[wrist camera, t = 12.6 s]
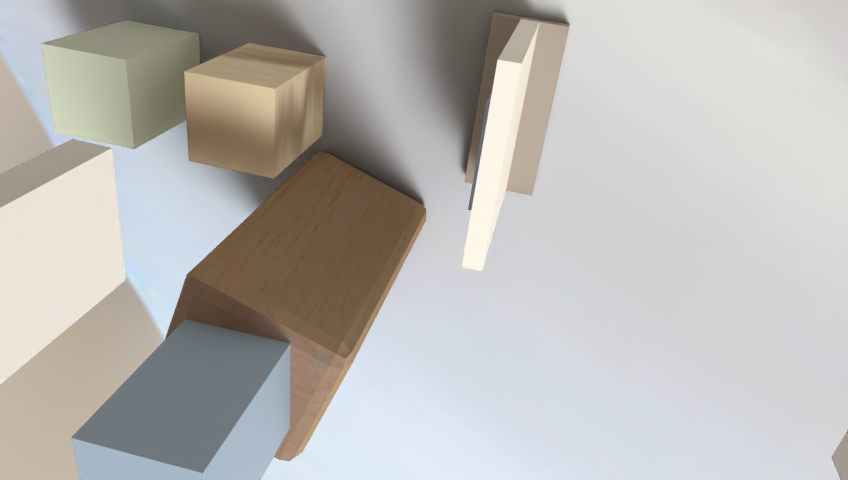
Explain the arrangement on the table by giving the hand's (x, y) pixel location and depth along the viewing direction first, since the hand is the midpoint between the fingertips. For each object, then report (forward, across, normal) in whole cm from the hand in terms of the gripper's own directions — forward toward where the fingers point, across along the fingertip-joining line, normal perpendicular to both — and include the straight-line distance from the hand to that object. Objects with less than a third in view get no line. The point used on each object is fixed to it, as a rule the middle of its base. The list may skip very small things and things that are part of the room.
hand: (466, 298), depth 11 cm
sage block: (+37, -28, -10) cm, 48 cm away
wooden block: (+37, -12, -20) cm, 44 cm away
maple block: (+37, -18, -10) cm, 42 cm away
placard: (+37, -2, -8) cm, 37 cm away
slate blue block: (+17, -12, -19) cm, 28 cm away
